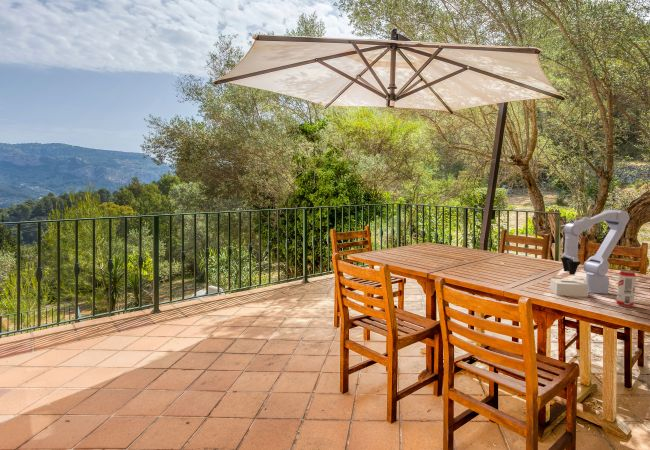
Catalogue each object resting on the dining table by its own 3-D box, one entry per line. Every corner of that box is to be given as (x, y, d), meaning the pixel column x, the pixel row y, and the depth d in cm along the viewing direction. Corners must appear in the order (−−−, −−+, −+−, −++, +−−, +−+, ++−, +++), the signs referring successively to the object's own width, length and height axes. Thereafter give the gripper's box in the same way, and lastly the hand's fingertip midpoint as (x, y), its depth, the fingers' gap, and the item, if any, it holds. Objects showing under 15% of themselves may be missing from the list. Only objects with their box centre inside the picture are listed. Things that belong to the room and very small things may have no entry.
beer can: (618, 306, 177) (621, 272, 175) (614, 302, 183) (617, 269, 181) (635, 308, 175) (638, 273, 173) (630, 304, 181) (633, 270, 179)
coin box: (579, 291, 202) (580, 280, 201) (587, 296, 192) (588, 285, 191) (550, 289, 205) (550, 278, 204) (556, 295, 195) (557, 283, 195)
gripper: (557, 244, 205) (555, 269, 206) (567, 248, 191) (565, 275, 192) (572, 244, 203) (570, 270, 205) (583, 249, 189) (581, 276, 191)
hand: (569, 272), depth 199 cm, fingers open, 7 cm apart
